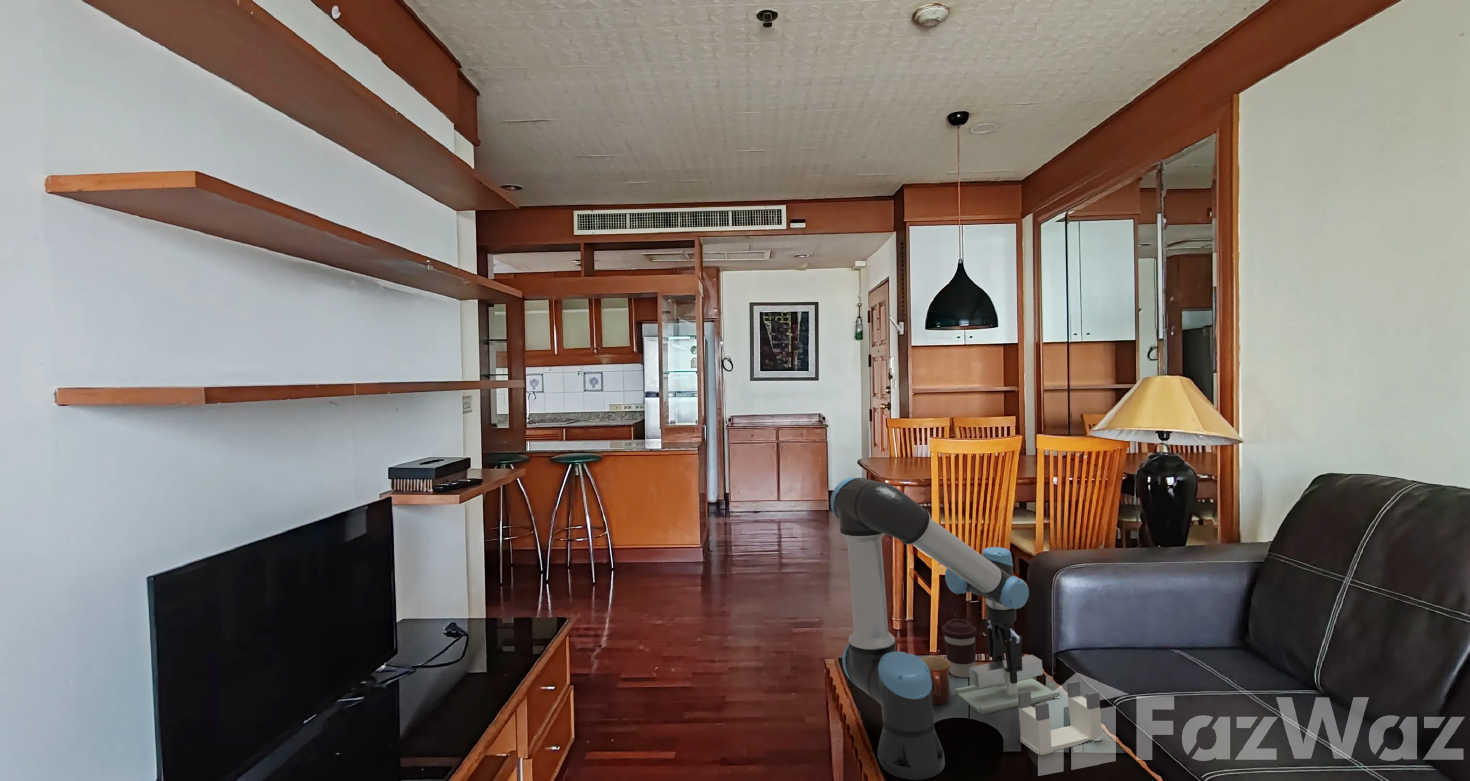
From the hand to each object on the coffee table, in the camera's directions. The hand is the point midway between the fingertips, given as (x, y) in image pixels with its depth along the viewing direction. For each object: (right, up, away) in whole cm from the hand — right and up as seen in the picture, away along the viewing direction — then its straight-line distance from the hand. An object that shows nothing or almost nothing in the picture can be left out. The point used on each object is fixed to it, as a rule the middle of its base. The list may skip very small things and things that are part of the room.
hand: (1007, 689), depth 180 cm
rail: (0, +3, 0) cm, 3 cm away
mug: (-19, -3, -1) cm, 20 cm away
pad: (0, -2, 0) cm, 2 cm away
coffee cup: (-7, -2, +16) cm, 17 cm away
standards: (+4, -2, -23) cm, 23 cm away
